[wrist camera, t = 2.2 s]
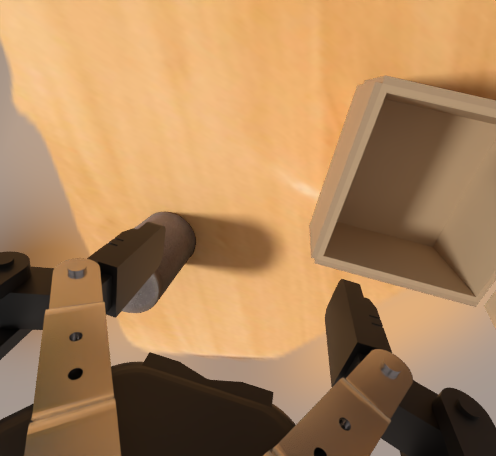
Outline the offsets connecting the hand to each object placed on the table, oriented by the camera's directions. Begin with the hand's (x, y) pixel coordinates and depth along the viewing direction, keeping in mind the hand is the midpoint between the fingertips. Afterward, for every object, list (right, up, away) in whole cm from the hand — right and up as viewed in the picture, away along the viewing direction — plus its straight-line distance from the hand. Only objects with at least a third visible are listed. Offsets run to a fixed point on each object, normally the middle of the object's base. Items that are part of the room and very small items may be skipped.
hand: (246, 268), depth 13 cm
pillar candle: (-13, 0, +36) cm, 39 cm away
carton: (+20, +9, +26) cm, 34 cm away
